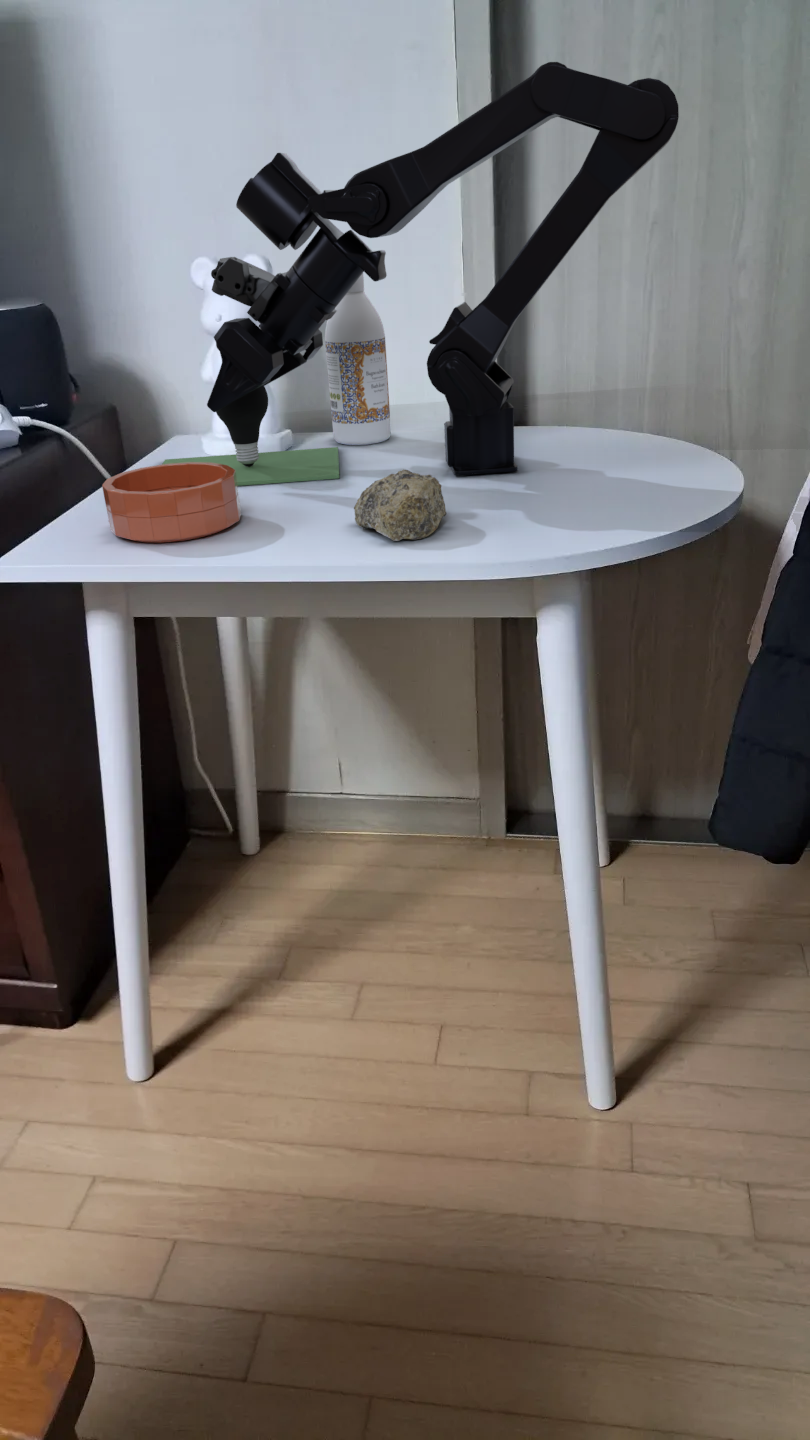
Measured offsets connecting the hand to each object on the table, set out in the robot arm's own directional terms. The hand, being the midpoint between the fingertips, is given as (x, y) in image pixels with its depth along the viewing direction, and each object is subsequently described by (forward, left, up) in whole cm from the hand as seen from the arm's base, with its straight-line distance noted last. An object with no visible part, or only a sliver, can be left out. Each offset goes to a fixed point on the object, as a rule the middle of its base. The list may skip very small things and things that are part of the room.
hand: (226, 400), depth 110 cm
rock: (-16, +27, -8) cm, 33 cm away
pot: (+4, +21, -7) cm, 23 cm away
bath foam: (-14, -12, -8) cm, 20 cm away
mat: (-1, 0, -7) cm, 8 cm away
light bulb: (-2, 0, -7) cm, 7 cm away
